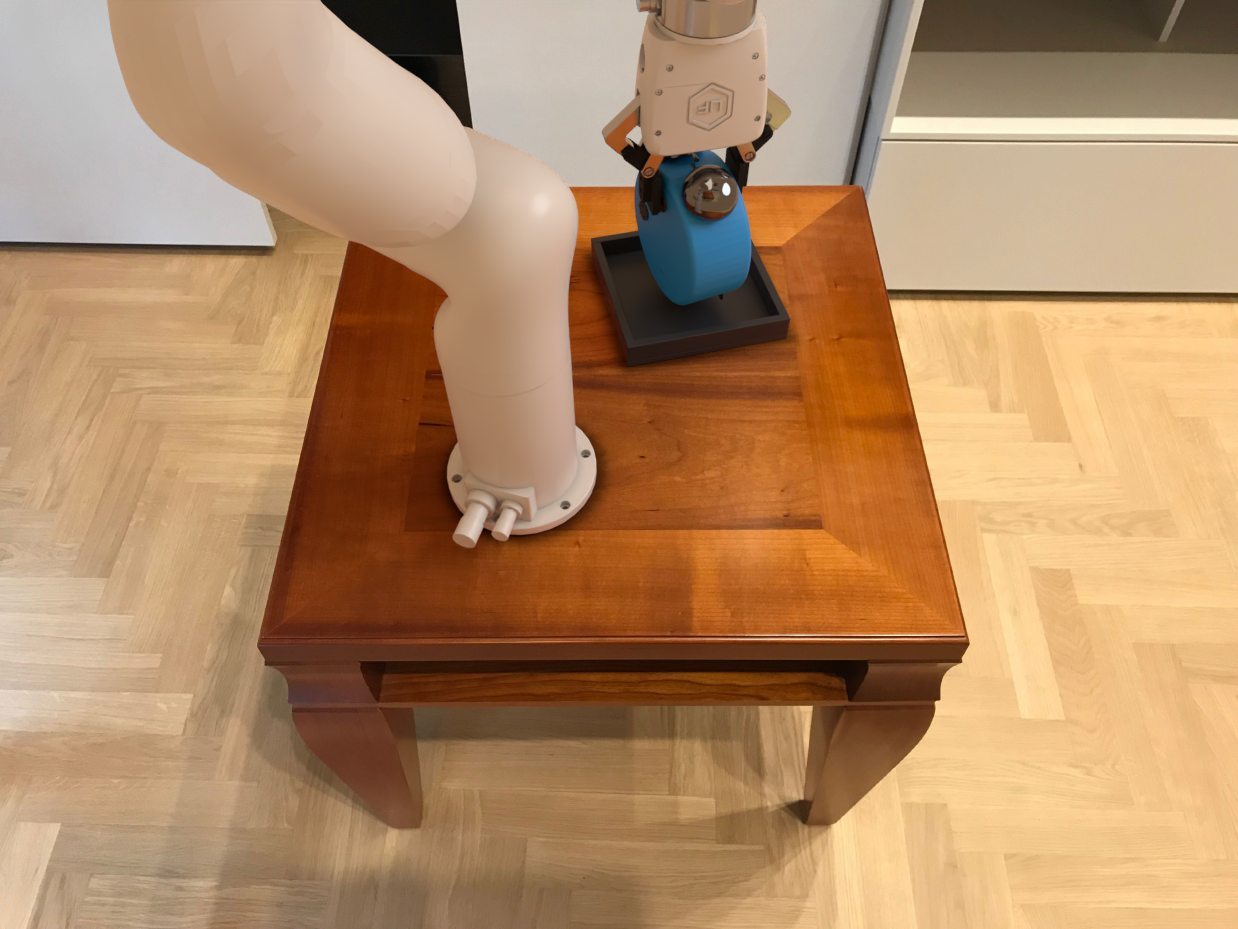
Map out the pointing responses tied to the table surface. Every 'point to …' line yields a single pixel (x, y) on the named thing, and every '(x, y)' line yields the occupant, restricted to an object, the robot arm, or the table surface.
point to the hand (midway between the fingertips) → (692, 197)
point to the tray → (681, 307)
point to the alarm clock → (696, 229)
